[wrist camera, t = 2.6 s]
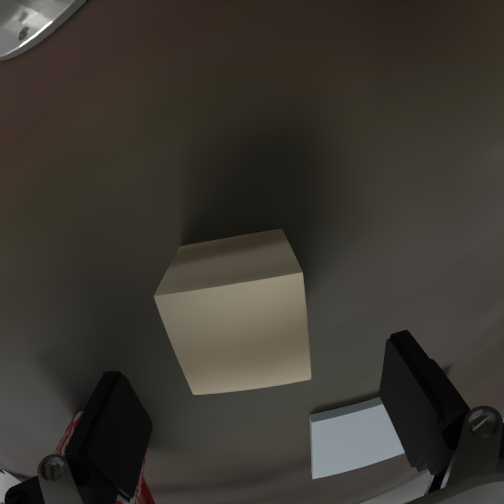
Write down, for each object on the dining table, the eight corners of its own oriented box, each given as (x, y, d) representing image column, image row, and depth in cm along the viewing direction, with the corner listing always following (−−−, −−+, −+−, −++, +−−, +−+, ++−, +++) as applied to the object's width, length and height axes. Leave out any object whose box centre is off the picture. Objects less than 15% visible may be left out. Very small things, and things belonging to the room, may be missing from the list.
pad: (309, 414, 19) (311, 422, 18) (444, 372, 19) (448, 378, 18) (311, 473, 23) (312, 479, 23) (414, 442, 23) (417, 447, 22)
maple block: (180, 245, 14) (153, 296, 9) (282, 227, 14) (302, 272, 9) (203, 328, 16) (193, 394, 11) (293, 315, 16) (311, 379, 11)
